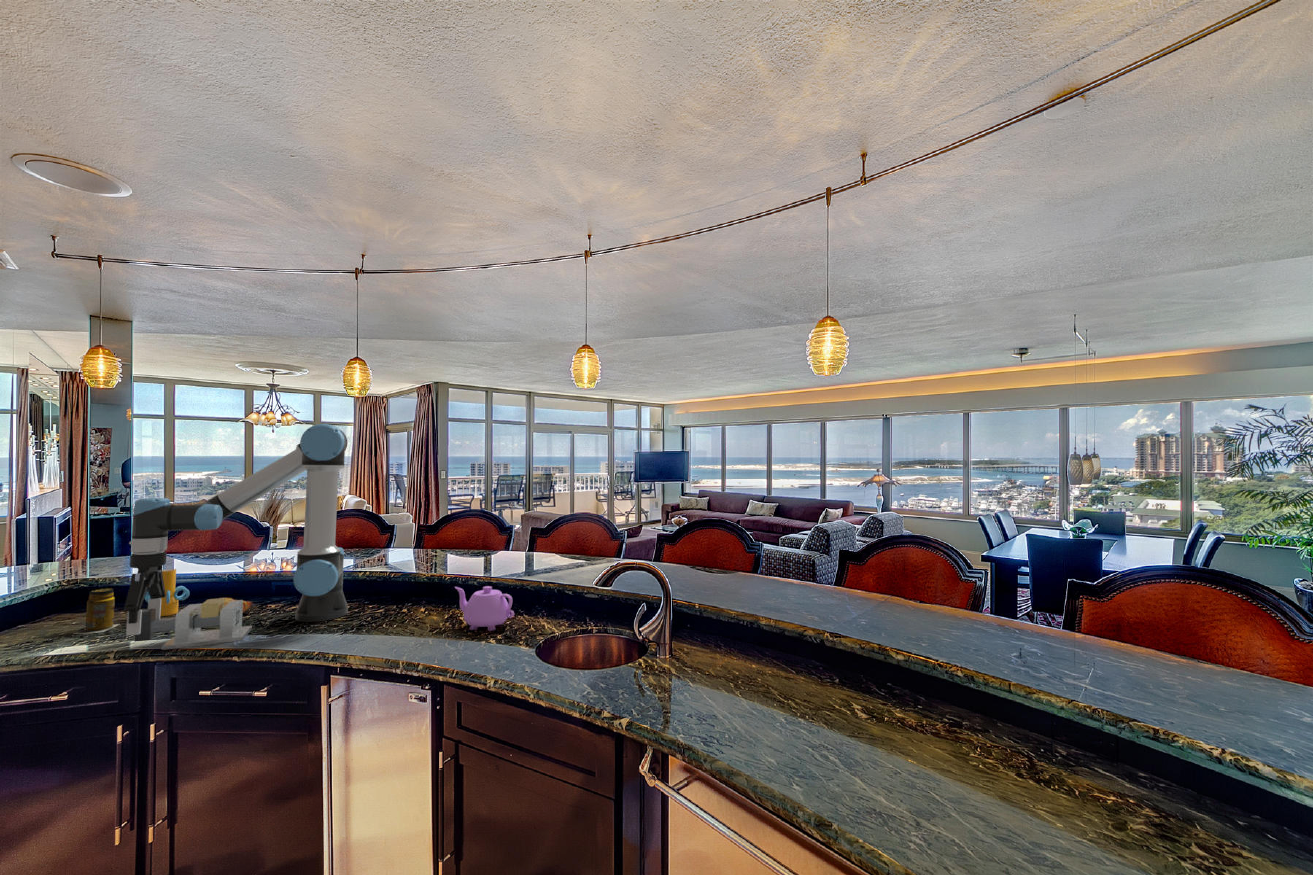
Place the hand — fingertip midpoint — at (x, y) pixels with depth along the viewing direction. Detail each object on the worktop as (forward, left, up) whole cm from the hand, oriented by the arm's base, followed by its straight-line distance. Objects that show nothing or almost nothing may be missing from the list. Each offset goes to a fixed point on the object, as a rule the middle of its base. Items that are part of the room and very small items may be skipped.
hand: (143, 627), depth 150 cm
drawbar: (-10, 0, -3) cm, 11 cm away
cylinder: (+6, -38, -5) cm, 39 cm away
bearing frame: (-15, 0, -5) cm, 16 cm away
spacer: (-15, 0, +2) cm, 16 cm away
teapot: (-90, +22, -6) cm, 93 cm away
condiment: (+19, -26, -6) cm, 33 cm away
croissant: (-11, -25, -6) cm, 28 cm away
